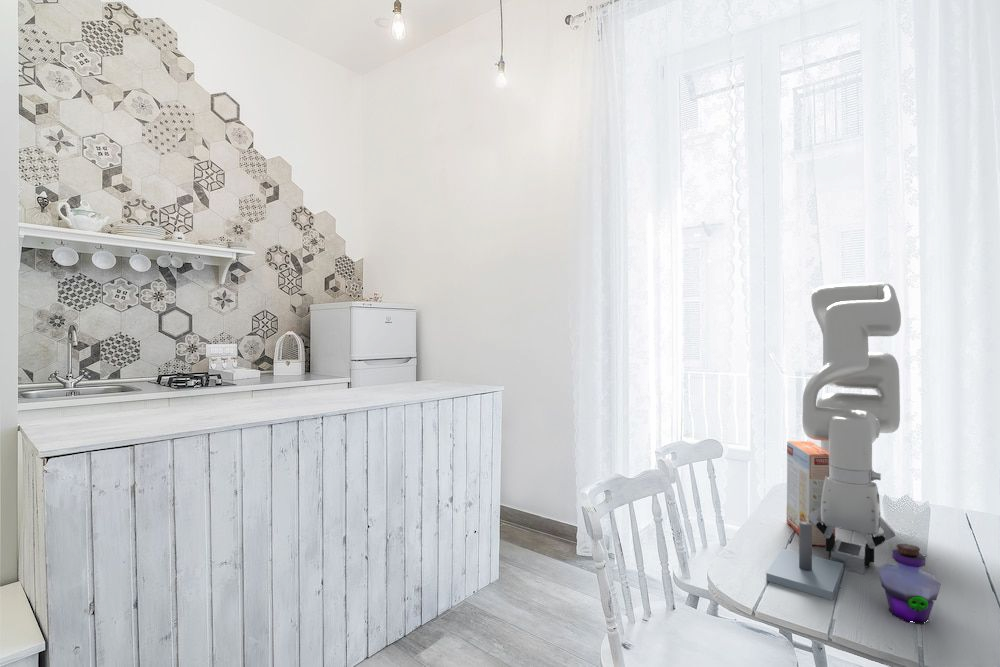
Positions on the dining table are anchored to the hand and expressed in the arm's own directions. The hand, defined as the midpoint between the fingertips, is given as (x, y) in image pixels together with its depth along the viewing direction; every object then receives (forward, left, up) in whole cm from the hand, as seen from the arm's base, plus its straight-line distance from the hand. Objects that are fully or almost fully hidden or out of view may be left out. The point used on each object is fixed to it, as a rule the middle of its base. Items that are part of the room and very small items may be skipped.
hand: (849, 559), depth 106 cm
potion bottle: (+16, +10, -1) cm, 19 cm away
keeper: (+12, -6, -1) cm, 13 cm away
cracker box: (-11, -9, -1) cm, 14 cm away
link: (0, 0, -1) cm, 1 cm away
